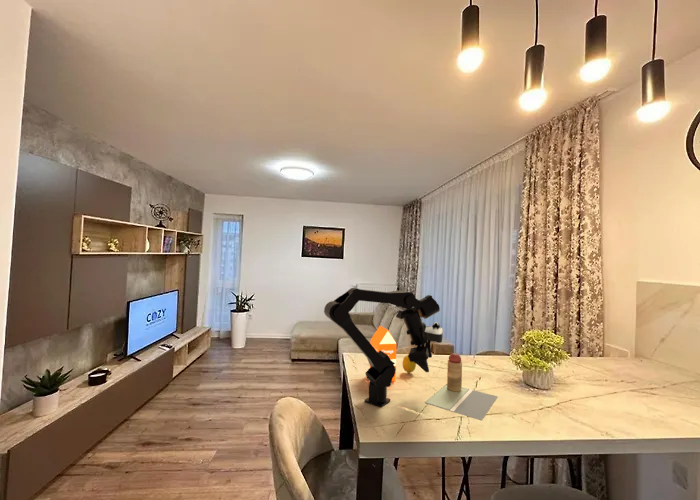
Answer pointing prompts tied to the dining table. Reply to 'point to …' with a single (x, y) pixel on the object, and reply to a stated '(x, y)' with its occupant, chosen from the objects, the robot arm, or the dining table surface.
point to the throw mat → (463, 402)
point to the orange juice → (385, 344)
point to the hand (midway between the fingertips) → (429, 364)
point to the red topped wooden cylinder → (454, 373)
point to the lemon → (408, 365)
